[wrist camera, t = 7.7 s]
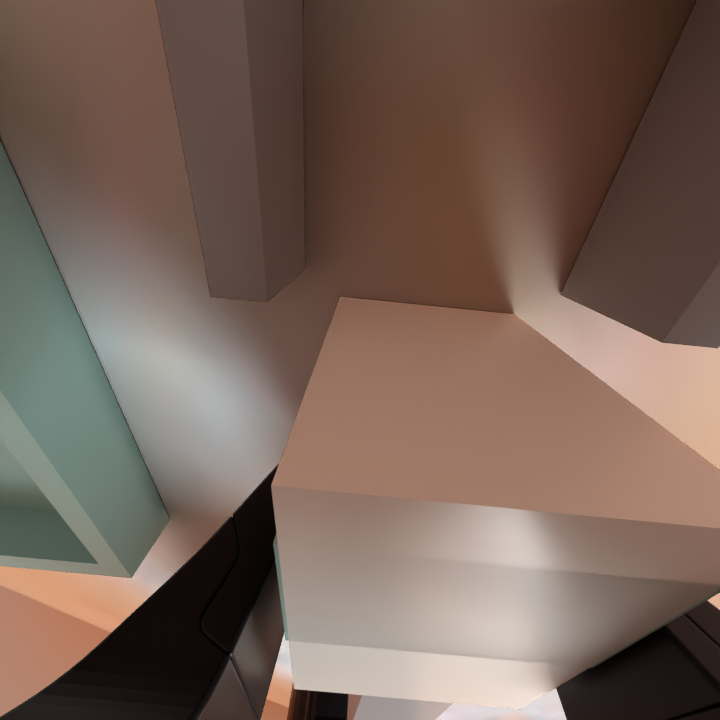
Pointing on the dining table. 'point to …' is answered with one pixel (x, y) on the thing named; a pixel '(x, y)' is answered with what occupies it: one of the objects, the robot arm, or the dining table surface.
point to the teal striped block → (475, 515)
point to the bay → (286, 169)
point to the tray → (61, 423)
